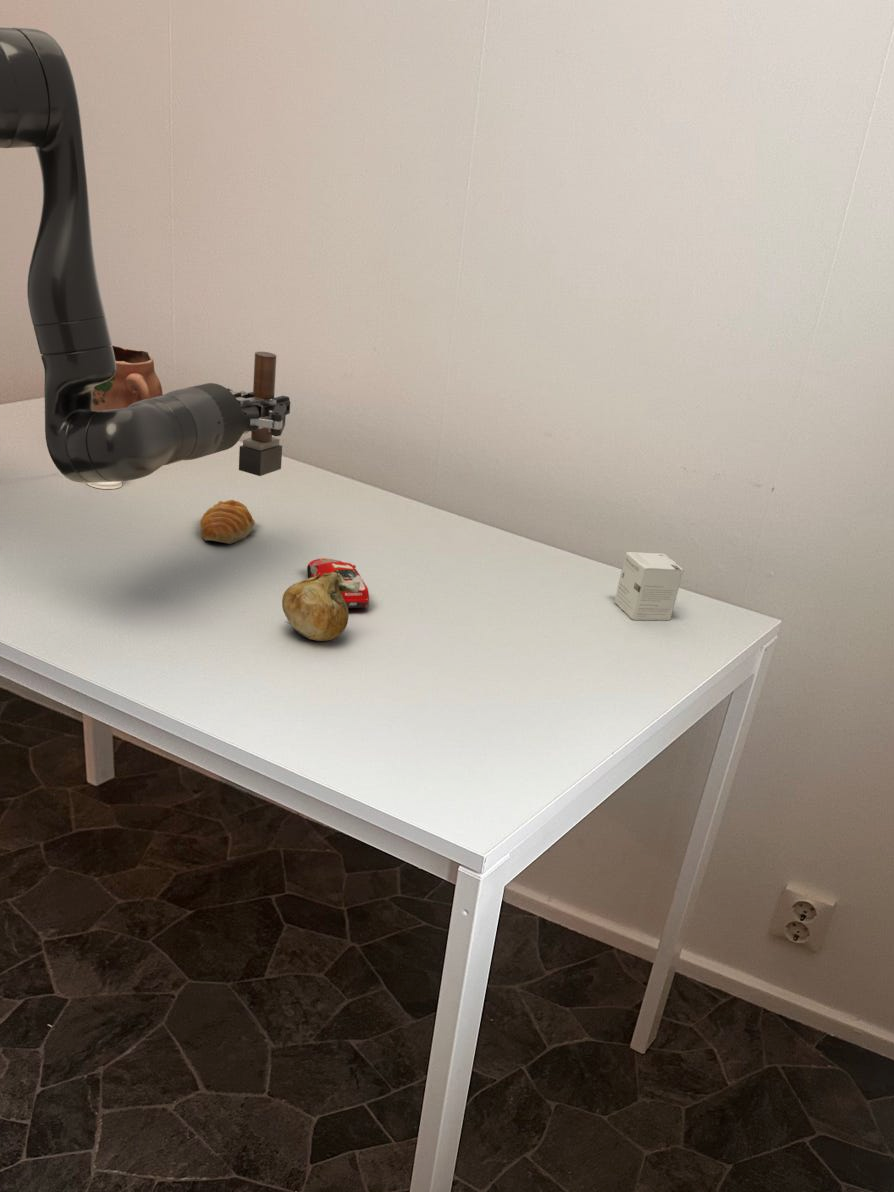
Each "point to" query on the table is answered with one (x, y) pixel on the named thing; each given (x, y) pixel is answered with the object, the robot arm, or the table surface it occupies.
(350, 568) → the race car
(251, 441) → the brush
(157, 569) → the table surface
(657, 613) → the product carton
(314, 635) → the onion
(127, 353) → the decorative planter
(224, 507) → the pastry
